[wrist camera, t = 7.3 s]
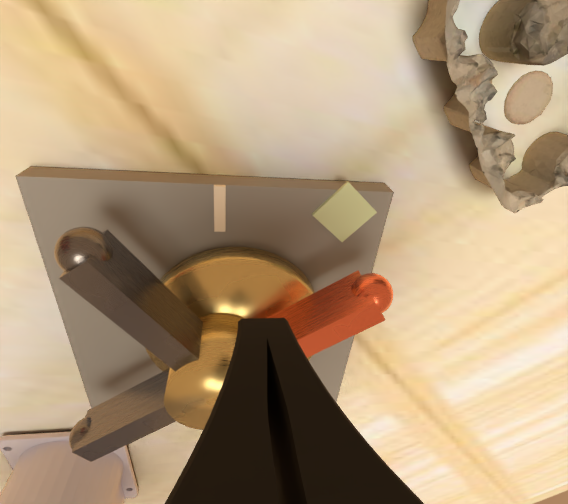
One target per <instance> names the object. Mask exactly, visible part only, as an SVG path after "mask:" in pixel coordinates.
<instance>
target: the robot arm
mask: <svg viewBox="0 0 568 504" xmlns="http://www.w3.org/2000/svg"><path fill="white" fill-rule="evenodd" d="M70 433H71V432H54V433H37V434H20V435H5V436H2V437H0V450H1V451H2V453H3V455H4V456H5V458H6V460H7V461H8V463H9V464H10V466H11V468H12V469H13V471H12V473H11V475H10V477H9V479H8V481H7V483H6V485H5V487H4V489H3V491H2V493H1V495H0V504H124V499H126V498H134V497H136V496H137V495H138V487H137V483H136V479H135V475H134V472H133V468H132V464H131V460H130V456H129V453H128V449H127V445H125V446H123V447H121V448H119V449H117V450H115V451H113V452H111V453H109V454H107V455H105V456H103V457H101V458H98V459H96V460H94V461H92V462H90V461H88V460H86V459H84V458H82V457H80V456H78V455H76V454H74V453H72V449H71V447H70V444H69V436H70ZM165 504H424V503H423V502H422V501H421V500H420V499H419V498H418V497H417V496H416V495H415V494H414V493H413V492H412V491H411V490H410V489H409V487H408V486H407V485H406V484H405V483H404V482H403V481H402V480H401V479H400V478H399V477H398V476H397V475H396V474H395V473H394V472H393V471H392V470H391V469H390V468H389V467H388V466H387V464H386V463H385V462H384V461H383V460H382V459H381V458H380V456H379V455H378V454H377V453H376V452H375V451H374V450H373V448H372V447H371V446H370V445H369V444H368V443H367V441H366V440H365V439H364V438H363V437H362V435H361V434H360V433H359V432H358V430H357V429H356V428H355V427H354V426H353V424H352V423H351V422H350V420H349V419H348V418H347V416H346V415H345V414H344V413H343V411H342V410H341V409H340V407H339V406H338V404H337V403H336V402H335V400H334V399H333V397H332V396H331V395H330V393H329V392H328V390H327V389H326V387H325V386H324V384H323V383H322V381H321V380H320V378H319V377H318V375H317V373H316V372H315V370H314V369H313V367H312V365H311V364H310V362H309V361H308V359H307V357H306V355H305V354H304V352H303V350H302V348H301V347H300V345H299V343H298V341H297V339H296V337H295V335H294V333H293V331H292V329H291V327H290V325H289V323H288V321H287V320H286V319H285V318H245V319H241V320H240V321H238V331H237V337H236V342H235V346H234V350H233V354H232V358H231V361H230V364H229V367H228V370H227V373H226V376H225V379H224V382H223V384H222V387H221V390H220V392H219V395H218V397H217V399H216V402H215V404H214V407H213V409H212V412H211V414H210V416H209V419H208V421H207V423H206V425H205V427H204V430H203V432H202V434H201V436H200V438H199V440H198V442H197V444H196V446H195V448H194V450H193V452H192V454H191V456H190V458H189V460H188V462H187V464H186V466H185V468H184V469H183V471H182V473H181V475H180V477H179V479H178V481H177V483H176V484H175V486H174V488H173V490H172V492H171V493H170V495H169V497H168V499H167V500H166V502H165Z"/></svg>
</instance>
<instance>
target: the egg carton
mask: <svg viewBox="0 0 568 504" xmlns="http://www.w3.org/2000/svg"><path fill="white" fill-rule="evenodd" d="M459 1H460V0H428V8H427V14H426V17H425V19H424V21H423V23H422V25H421V26H420V28H419V29H418V31H417V32H416V33H415V34H414V35H413V37H412V39H413V42H414V45H415V47H416V49H417V51H418V53H419V55H420V57H421V58H422V59H428V60H436V61H447V68H448V71H449V75H450V77H451V80H452V81H453V82H454V83H455V84H456V85H457V88H456V91H455V93H454V95H453V96H452V98H451V99H450V101H449V102H448V103H447V104H446V105H445V106H444V111H445V114H446V116H447V118H448V121H449V123H450V124H451V125H453V126H455V127H458V128H460V129H463V130H467V131H469V132H471V133H472V136H473V139H474V142H475V145H476V147H477V150H478V156H477V157H476V158H475V159H474V160H473V161H472V162H471V163H470V164H469V166H470V170H471V172H472V174H473V176H474V178H475V179H476V180H478V181H480V182H482V183H484V184H486V185H488V186H490V187H491V188H492V189H493V190H494V192H495V194H496V196H497V197H498V199H499V201H500V203H501V205H502V206H503V207H504V208H506V209H508V210H510V211H512V212H514V213H516V212H518V211H519V210H521V209H523V208H525V207H528V206H531V205H533V204H537V203H541V202H542V201H543V199H542V198H541V197H543V196H544V195H545V194H547V193H548V192H550V191H552V190H554V189H556V188H559V187H562V186H568V135H565V134H562V133H559V132H550V133H547V134H545V135H543V136H541V137H539V138H538V139H537V140H536V141H534V142H533V143H532V145H531V146H530V147H529V148H528V149H527V151H526V153H525V155H524V157H523V162H522V170H521V171H520V172H519V173H517V174H515V175H513V176H511V177H510V178H508V179H506V180H505V179H503V175H504V173H505V170H506V169H507V168H508V166H509V165H510V163H511V162H512V161H514V160H515V159H516V158H515V157H514V146H513V143H512V141H511V139H512V138H513V137H514V136H515V135H514V134H511V133H506V132H502V131H499V130H496V129H493V128H490V127H487V126H484V125H482V123H483V122H484V121H485V120H486V119H487V118H486V112H485V110H484V106H485V104H486V103H487V101H489V100H491V99H492V98H493V96H494V95H495V94H496V93H497V90H496V89H495V87H494V86H493V85H492V79H493V78H494V77H495V76H497V75H498V74H497V71H496V69H495V68H494V66H493V64H492V63H491V61H490V60H489V59H488V58H490V59H493V60H496V61H501V62H509V63H518V64H526V65H547V64H550V63H552V62H554V61H556V60H558V59H559V58H561V57H563V56H564V55H566V54H568V0H499V1H498V2H497V3H496V4H495V5H494V6H493V7H492V8H491V9H490V11H489V12H488V14H487V15H486V17H485V19H484V21H483V24H482V26H481V29H480V33H479V44H480V48H481V51H482V53H483V54H484V55H485V56H487V57H488V58H487V57H485V56H484V55H483V54H477V55H472V56H461V55H460V54H461V53H462V52H463V51H464V50H465V40H466V39H467V38H468V37H467V34H466V32H465V31H464V30H461V29H458V28H457V27H456V25H455V24H454V21H453V18H452V17H453V15H454V13H455V12H456V10H457V7H458V5H459ZM552 89H553V83H552V81H551V77H549V76H548V74H546V73H544V72H542V71H533V72H529V73H527V74H525V75H523V76H521V77H520V78H519V79H518V80H517V81H516V82H515V83H514V84H513V86H512V87H511V89H510V90H509V92H508V94H507V97H506V99H505V104H504V113H505V116H506V118H507V119H508V120H509V121H510V122H511V123H514V124H526V123H529V122H531V121H532V120H534V119H535V118H536V117H538V116H539V115H541V114H542V112H543V110H545V107H546V106H547V105H548V103H549V102H550V99H551V96H552ZM475 120H478V121H480V124H479V123H476V122H474V121H475Z"/></svg>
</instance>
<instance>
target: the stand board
mask: <svg viewBox="0 0 568 504" xmlns="http://www.w3.org/2000/svg"><path fill="white" fill-rule="evenodd" d="M16 179H17V182H18V185H19V188H20V191H21V194H22V197H23V200H24V203H25V206H26V209H27V212H28V216H29V219H30V222H31V225H32V228H33V231H34V234H35V237H36V240H37V243H38V246H39V249H40V252H41V255H42V258H43V261H44V264H45V268H46V271H47V274H48V277H49V280H50V283H51V286H52V289H53V292H54V295H55V298H56V301H57V304H58V307H59V310H60V313H61V316H62V319H63V323H64V326H65V329H66V332H67V335H68V338H69V341H70V344H71V347H72V350H73V353H74V356H75V359H76V362H77V365H78V368H79V371H80V374H81V378H82V381H83V384H84V387H85V390H86V393H87V396H88V399H89V402H90V405H91V408H93V407H95V406H97V405H99V404H101V403H103V402H105V401H107V400H109V399H111V398H113V397H115V396H116V395H118V394H120V393H122V392H124V391H126V390H128V389H130V388H132V387H134V386H136V385H138V384H140V383H142V382H143V381H145V380H147V379H149V378H151V377H153V376H155V375H157V374H159V373H161V372H163V371H162V370H160V369H159V368H158V367H157V366H156V364H155V363H154V362H153V361H152V359H151V358H150V356H149V355H148V353H147V351H146V348H145V347H144V346H143V345H141V344H140V343H139V342H138V341H136V340H135V339H134V338H133V337H131V336H130V335H129V334H128V333H126V332H125V331H124V330H123V329H121V328H120V327H119V326H118V325H116V324H115V323H114V322H113V321H111V320H110V319H109V318H108V317H106V316H105V315H104V314H103V313H101V312H100V311H99V310H98V309H96V308H95V307H94V306H93V305H91V304H90V303H89V302H88V301H86V300H85V299H84V298H83V297H81V296H80V295H79V294H78V293H76V292H75V291H74V290H73V289H71V288H70V287H69V286H68V285H66V284H65V283H64V282H63V281H61V280H60V279H59V277H60V276H61V275H62V273H63V272H64V271H63V270H62V269H61V268H60V267H59V265H58V264H57V262H56V259H55V255H54V249H55V245H56V242H57V241H58V239H59V238H60V236H61V235H62V234H64V233H65V232H66V231H68V230H70V229H73V228H76V227H91V228H94V229H97V230H99V231H101V232H104V231H105V230H107V229H108V230H109V231H110V232H111V233H112V234H113V235H114V236H115V237H116V238H117V239H118V240H119V241H120V242H121V243H122V244H123V245H124V246H125V247H126V248H127V249H128V250H129V251H130V252H131V253H132V254H133V255H134V256H136V257H137V258H138V259H139V260H140V261H141V262H142V263H143V264H144V265H145V266H146V267H147V268H148V269H149V270H150V271H151V272H152V273H153V274H154V275H155V276H156V277H157V278H158V279H159V280H160V279H161V278H162V277H163V275H164V274H165V273H166V272H167V271H169V270H170V269H171V268H172V267H173V266H175V265H176V264H178V263H179V262H181V261H182V260H184V259H186V258H188V257H190V256H192V255H194V254H197V253H200V252H203V251H206V250H211V249H215V248H222V247H249V248H256V249H260V250H265V251H268V252H271V253H273V254H276V255H278V256H280V257H282V258H284V259H286V260H288V261H289V262H291V263H292V264H294V265H295V266H296V267H297V268H298V269H300V270H301V271H302V272H303V273H304V275H305V276H306V277H307V278H308V280H309V281H310V283H311V285H312V287H313V289H314V292H317V291H319V290H321V289H323V288H325V287H327V286H329V285H331V284H332V283H334V282H336V281H338V280H340V279H342V278H344V277H346V276H348V275H350V274H352V273H354V272H356V271H358V270H359V272H360V274H361V275H364V274H367V273H372V269H373V266H374V262H375V258H376V255H377V251H378V248H379V244H380V240H381V237H382V233H383V229H384V226H385V222H386V218H387V215H388V211H389V207H390V204H391V200H392V196H393V193H394V192H393V191H392V190H391V189H390V188H389V187H388V186H387V185H386V184H385V183H373V182H352V181H331V180H310V179H288V178H267V177H246V176H224V175H203V174H182V173H160V172H139V171H118V170H96V169H75V168H54V167H32V166H30V167H29V168H27V169H26V170H24V171H23V172H21V173H20V174H18V175H16ZM353 339H354V335H353V336H351V337H349V338H347V339H345V340H343V341H341V342H339V343H337V344H335V345H333V346H331V347H329V348H326V349H324V350H322V351H320V352H318V353H316V354H314V355H313V356H312V357H311V358H310V360H309V362H310V364H311V365H312V367H313V369H314V370H315V372H316V373H317V375H318V377H319V378H320V380H321V381H322V383H323V384H324V386H325V387H326V389H327V390H328V392H329V393H330V395H331V396H332V397H333V399H334V400H335V402H336V401H337V397H338V394H339V390H340V386H341V383H342V379H343V375H344V372H345V368H346V364H347V361H348V357H349V353H350V350H351V346H352V342H353Z"/></svg>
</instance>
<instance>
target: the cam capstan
mask: <svg viewBox="0 0 568 504" xmlns="http://www.w3.org/2000/svg"><path fill="white" fill-rule="evenodd" d="M54 255H55V259H56V262H57V264H58V265H59V267H60V268H61V269H62V270H63V271H64V272H63V273H62V275H61V276H60V277H59V279H60V280H61V281H63V282H64V283H65V284H66V285H68V286H69V287H70V288H71V289H73V290H74V291H75V292H76V293H78V294H79V295H80V296H81V297H83V298H84V299H85V300H86V301H88V302H89V303H90V304H91V305H93V306H94V307H95V308H96V309H98V310H99V311H100V312H101V313H103V314H104V315H105V316H106V317H108V318H109V319H110V320H111V321H113V322H114V323H115V324H116V325H118V326H119V327H120V328H121V329H123V330H124V331H125V332H126V333H128V334H129V335H130V336H131V337H133V338H134V339H135V340H136V341H138V342H139V343H140V344H141V345H143V346H144V347H145V348H146V351H147V353H148V355H149V356H150V358H151V359H152V361H153V362H154V363H155V364H156V366H157V367H158V368H159V369H160V370H162V371H163V372H161V373H159V374H157V375H155V376H153V377H151V378H149V379H147V380H145V381H143V382H142V383H140V384H138V385H136V386H134V387H132V388H130V389H128V390H126V391H124V392H122V393H120V394H118V395H116V396H115V397H113V398H111V399H109V400H107V401H105V402H103V403H101V404H99V405H97V406H95V407H93V408H91V409H89V410H88V412H87V414H86V417H85V418H83V419H82V420H80V421H79V422H78V423H77V424H76V425H75V426H74V427H73V429H72V430H71V433H70V436H69V444H70V447H71V449H72V453H74V454H76V455H78V456H80V457H82V458H84V459H86V460H88V461H90V462H92V461H94V460H96V459H98V458H101V457H103V456H105V455H107V454H109V453H111V452H113V451H115V450H117V449H119V448H121V447H123V446H125V445H127V444H130V443H132V442H134V441H136V440H138V439H140V438H142V437H144V436H146V435H148V434H150V433H152V432H154V431H156V430H159V429H161V428H163V427H165V426H167V425H169V424H171V423H173V422H175V421H177V422H179V423H181V424H183V425H185V426H188V427H191V428H195V429H201V430H204V427H205V425H206V423H207V421H208V419H209V416H210V414H211V412H212V409H213V407H214V404H215V402H216V399H217V397H218V395H219V392H220V390H221V387H222V384H223V382H224V379H225V376H226V373H227V370H228V367H229V364H230V361H231V358H232V354H233V350H234V346H235V342H236V337H237V331H238V321H240V320H241V319H245V318H285V319H286V320H287V321H288V323H289V325H290V327H291V329H292V331H293V333H294V335H295V337H296V339H297V341H298V343H299V345H300V347H301V348H302V350H303V352H304V354H305V355H306V357H307V359H308V361H309V360H310V358H311V357H312V356H313V355H314V354H316V353H318V352H320V351H322V350H324V349H326V348H329V347H331V346H333V345H335V344H337V343H339V342H341V341H343V340H345V339H347V338H349V337H351V336H353V335H355V334H358V333H360V332H362V331H364V330H366V329H368V328H370V327H372V326H374V325H376V324H378V323H380V322H382V321H384V320H385V318H384V316H383V315H382V313H383V312H384V311H386V310H387V309H388V308H389V306H390V305H391V303H392V300H393V290H392V287H391V285H390V283H389V282H388V281H387V279H385V278H384V277H383V276H381V275H378V274H375V273H367V274H364V275H361V274H360V272H359V270H358V271H356V272H354V273H352V274H350V275H348V276H346V277H344V278H342V279H340V280H338V281H336V282H334V283H332V284H331V285H329V286H327V287H325V288H323V289H321V290H319V291H317V292H314V289H313V287H312V285H311V283H310V281H309V280H308V278H307V277H306V276H305V275H304V273H303V272H302V271H301V270H300V269H298V268H297V267H296V266H295V265H294V264H292V263H291V262H289V261H288V260H286V259H284V258H282V257H280V256H278V255H276V254H273V253H271V252H268V251H265V250H260V249H256V248H249V247H222V248H215V249H211V250H206V251H203V252H200V253H197V254H194V255H192V256H190V257H188V258H186V259H184V260H182V261H181V262H179V263H178V264H176V265H175V266H173V267H172V268H171V269H170V270H169V271H167V272H166V273H165V274H164V275H163V277H162V278H161V279H160V280H159V279H158V278H157V277H156V276H155V275H154V274H153V273H152V272H151V271H150V270H149V269H148V268H147V267H146V266H145V265H144V264H143V263H142V262H141V261H140V260H139V259H138V258H137V257H136V256H134V255H133V254H132V253H131V252H130V251H129V250H128V249H127V248H126V247H125V246H124V245H123V244H122V243H121V242H120V241H119V240H118V239H117V238H116V237H115V236H114V235H113V234H112V233H111V232H110V231H109V230H108V229H107V230H105V231H104V232H101V231H99V230H97V229H94V228H91V227H76V228H73V229H70V230H68V231H66V232H65V233H64V234H62V235H61V236H60V238H59V239H58V241H57V242H56V245H55V249H54Z"/></svg>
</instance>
